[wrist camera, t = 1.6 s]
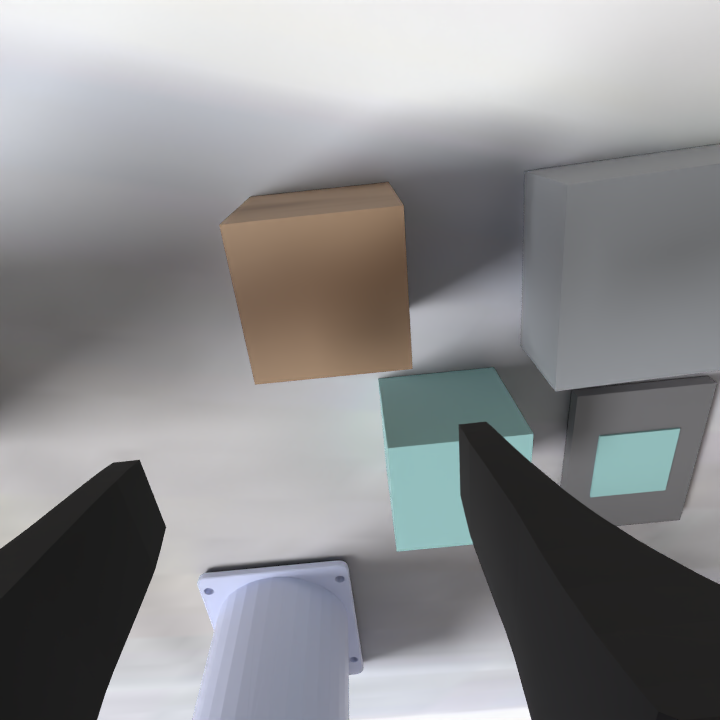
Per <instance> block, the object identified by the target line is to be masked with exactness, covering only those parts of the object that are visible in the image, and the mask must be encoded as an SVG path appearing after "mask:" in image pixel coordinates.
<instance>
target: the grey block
mask: <svg viewBox="0 0 720 720" xmlns="http://www.w3.org/2000/svg"><path fill="white" fill-rule="evenodd" d="M521 347H522V349H523V350H524V351H525V352H526V354H527V355H528V356H529V358H530V359H531V360H532V362H533V363H534V364H535V366H536V367H537V368H538V370H539V371H540V372H541V373H542V375H543V376H544V377H545V379H546V380H547V381H548V383H549V384H550V385H551V387H552V388H553V389H554V390H555V391H562V390H570V389H578V388H586V387H594V386H602V385H610V384H618V383H625V382H633V381H641V380H649V379H657V378H665V377H673V376H681V375H689V374H696V373H704V372H712V371H720V144H714V145H707V146H699V147H692V148H685V149H678V150H671V151H664V152H657V153H650V154H643V155H636V156H629V157H622V158H614V159H607V160H600V161H593V162H586V163H579V164H572V165H565V166H558V167H551V168H544V169H536V170H529V171H525V172H524V218H523V263H522V309H521Z"/></svg>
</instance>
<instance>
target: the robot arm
mask: <svg viewBox="0 0 720 720" xmlns="http://www.w3.org/2000/svg"><path fill="white" fill-rule="evenodd" d="M459 462H460V496H461V500H462V504H463V509H464V513H465V517H466V521H467V525H468V529H469V533H470V537H471V539H472V542H473V545H474V548H475V550H476V553H477V556H478V559H479V561H480V564H481V567H482V569H483V572H484V575H485V577H486V580H487V583H488V585H489V588H490V591H491V593H492V596H493V599H494V601H495V604H496V607H497V609H498V612H499V615H500V617H501V620H502V623H503V625H504V628H505V631H506V633H507V636H508V639H509V642H510V645H511V648H512V651H513V654H514V658H515V661H516V665H517V668H518V672H519V676H520V679H521V683H522V687H523V690H524V694H525V697H526V701H527V705H528V708H529V712H530V716H531V720H720V584H718V583H716V582H714V581H712V580H710V579H708V578H706V577H704V576H702V575H700V574H698V573H696V572H694V571H692V570H690V569H688V568H687V567H685V566H683V565H681V564H679V563H677V562H676V561H674V560H672V559H670V558H668V557H666V556H665V555H663V554H661V553H659V552H657V551H655V550H654V549H652V548H650V547H649V546H647V545H645V544H644V543H642V542H640V541H638V540H637V539H635V538H634V537H632V536H630V535H629V534H627V533H626V532H624V531H623V530H621V529H619V528H618V527H616V526H615V525H613V524H612V523H610V522H608V521H607V520H605V519H604V518H602V517H601V516H599V515H598V514H596V513H595V512H594V511H592V510H591V509H589V508H588V507H586V506H585V505H584V504H582V503H581V502H580V501H578V500H577V499H576V498H574V497H573V496H572V495H570V494H569V493H568V492H566V491H565V490H564V489H563V488H561V487H560V486H559V485H558V484H556V483H555V482H554V481H553V480H551V479H550V478H549V477H548V476H547V475H545V474H544V473H543V472H542V471H541V470H539V469H538V468H537V467H536V466H535V465H534V464H532V463H531V462H530V461H529V460H528V459H527V458H526V457H524V456H523V455H522V454H521V453H520V452H519V451H518V450H517V449H516V448H515V447H513V446H512V445H511V444H510V443H509V442H508V441H507V440H506V439H505V438H504V437H503V436H502V435H501V434H499V433H498V432H497V431H496V430H495V429H494V428H493V427H492V426H491V425H490V424H489V423H487V422H477V423H467V424H459ZM165 529H166V526H165V523H164V521H163V518H162V516H161V513H160V511H159V508H158V505H157V503H156V500H155V498H154V495H153V493H152V490H151V488H150V485H149V483H148V480H147V477H146V475H145V472H144V470H143V467H142V465H141V462H140V460H134V461H125V462H116V463H112V464H111V465H109V466H108V467H106V468H105V469H103V470H102V471H101V472H99V473H98V474H96V475H95V476H94V477H93V478H91V479H90V480H89V481H87V482H86V483H85V484H83V485H82V486H81V487H80V488H78V489H77V490H76V491H75V492H73V493H72V494H71V495H70V496H68V497H67V498H66V499H65V500H63V501H62V502H61V503H59V504H58V505H57V506H56V507H54V508H53V509H52V510H51V511H49V512H48V513H47V514H46V515H44V516H43V517H42V518H41V519H39V520H38V521H37V522H35V523H34V524H33V525H32V526H30V527H29V528H28V529H27V530H25V531H24V532H23V533H21V534H20V535H19V536H17V537H16V538H14V539H13V540H12V541H10V542H9V543H8V544H6V545H5V546H4V547H2V548H1V549H0V720H97V718H98V715H99V712H100V708H101V705H102V702H103V699H104V696H105V693H106V690H107V688H108V685H109V682H110V680H111V677H112V674H113V672H114V669H115V667H116V664H117V662H118V659H119V657H120V655H121V652H122V650H123V647H124V645H125V642H126V640H127V638H128V635H129V633H130V630H131V628H132V626H133V623H134V621H135V618H136V616H137V613H138V611H139V609H140V606H141V604H142V601H143V599H144V596H145V594H146V591H147V589H148V586H149V584H150V581H151V579H152V576H153V574H154V571H155V568H156V564H157V561H158V557H159V553H160V550H161V546H162V541H163V537H164V533H165ZM197 584H198V588H199V590H200V593H201V596H202V599H203V601H204V604H205V607H206V610H207V612H208V615H209V618H210V621H211V623H212V626H213V629H214V634H213V638H212V642H211V646H210V650H209V654H208V658H207V662H206V666H205V670H204V674H203V678H202V682H201V686H200V690H199V694H198V698H197V702H196V706H195V710H194V714H193V718H192V720H349V675H353V674H359V673H361V672H362V671H363V659H362V652H361V646H360V639H359V633H358V626H357V620H356V613H355V607H354V600H353V594H352V587H351V581H350V574H349V568H348V565H347V563H346V562H344V561H339V560H337V561H327V562H316V563H306V564H295V565H284V566H274V567H263V568H253V569H242V570H231V571H221V572H210V573H204V574H202V575H200V577H199V579H198V582H197Z"/></svg>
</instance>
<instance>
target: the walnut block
mask: <svg viewBox="0 0 720 720" xmlns="http://www.w3.org/2000/svg"><path fill="white" fill-rule="evenodd" d="M219 226H220V230H221V235H222V239H223V244H224V248H225V252H226V257H227V261H228V266H229V270H230V275H231V279H232V284H233V288H234V293H235V297H236V301H237V306H238V310H239V315H240V319H241V324H242V328H243V333H244V337H245V342H246V346H247V351H248V355H249V359H250V364H251V368H252V373H253V377H254V382H255V384H265V383H275V382H285V381H295V380H305V379H315V378H325V377H336V376H346V375H356V374H366V373H376V372H386V371H396V370H406V369H412V352H411V333H410V314H409V296H408V277H407V259H406V240H405V222H404V205H403V204H402V202H401V201H400V199H399V197H398V196H397V194H396V193H395V191H394V190H393V188H392V187H391V185H390V184H389V182H384V183H375V184H365V185H356V186H346V187H337V188H328V189H318V190H309V191H299V192H290V193H280V194H271V195H262V196H252V197H249V198H248V199H247V200H246V201H245V202H244V203H243V204H242V205H241V206H239V207H238V208H237V209H236V210H235V211H234V212H233V213H232V214H231V215H230V216H228V217H227V218H226V219H225V220H224V221H223V222H222V223H221V224H220V225H219Z"/></svg>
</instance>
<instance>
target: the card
mask: <svg viewBox="0 0 720 720" xmlns="http://www.w3.org/2000/svg"><path fill="white" fill-rule="evenodd" d="M716 385H717V382H715V381H714V380H713V379H711V378H710V377H708V376H704V377H694V378H684V379H674V380H664V381H653V382H643V383H633V384H623V385H613V386H603V387H593V388H583V389H573V390H572V393H571V401H570V410H569V418H568V427H567V435H566V444H565V453H564V461H563V470H562V478H561V488H563V489H564V490H565V491H566V492H568V493H569V494H570V495H572V496H573V497H574V498H576V499H577V500H578V501H580V502H581V503H582V504H584V505H585V506H586V507H588V508H589V509H591V510H592V511H594V512H595V513H596V514H598V515H599V516H601V517H602V518H604V519H605V520H607V521H608V522H610V523H612V524H613V525H615V526H621V525H631V524H642V523H652V522H663V521H674V520H680V518H681V514H682V510H683V507H684V503H685V499H686V496H687V492H688V488H689V485H690V481H691V477H692V474H693V470H694V466H695V463H696V459H697V455H698V452H699V448H700V444H701V441H702V437H703V433H704V430H705V426H706V422H707V419H708V415H709V411H710V408H711V404H712V400H713V397H714V393H715V389H716Z"/></svg>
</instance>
